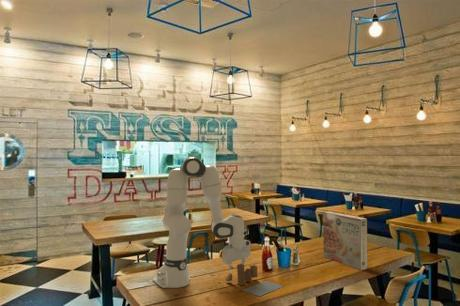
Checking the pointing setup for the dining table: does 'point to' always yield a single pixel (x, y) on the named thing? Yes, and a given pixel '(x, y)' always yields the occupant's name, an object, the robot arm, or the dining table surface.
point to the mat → (262, 288)
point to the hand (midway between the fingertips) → (236, 267)
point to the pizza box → (345, 239)
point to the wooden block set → (244, 274)
